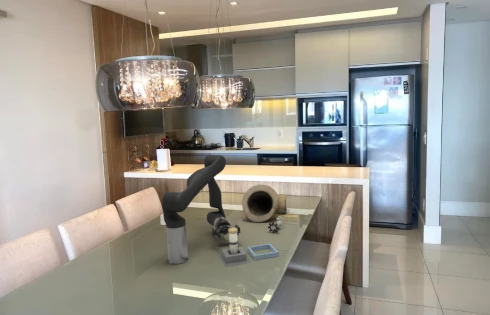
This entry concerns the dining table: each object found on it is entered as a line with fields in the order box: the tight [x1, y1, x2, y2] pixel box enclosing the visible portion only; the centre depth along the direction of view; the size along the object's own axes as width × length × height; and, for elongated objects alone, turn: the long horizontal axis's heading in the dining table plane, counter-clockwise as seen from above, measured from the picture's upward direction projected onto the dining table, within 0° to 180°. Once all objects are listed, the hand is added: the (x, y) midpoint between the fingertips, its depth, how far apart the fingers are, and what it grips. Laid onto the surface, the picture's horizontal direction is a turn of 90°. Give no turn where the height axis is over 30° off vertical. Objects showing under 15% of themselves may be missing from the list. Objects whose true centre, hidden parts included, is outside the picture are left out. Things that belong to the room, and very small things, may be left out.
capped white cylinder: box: [227, 228, 239, 255], centre depth 172 cm, size 4×4×14 cm
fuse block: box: [218, 246, 252, 268], centre depth 173 cm, size 12×16×4 cm
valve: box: [267, 216, 284, 234], centre depth 213 cm, size 7×7×12 cm
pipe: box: [241, 184, 288, 223], centre depth 243 cm, size 23×29×30 cm
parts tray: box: [246, 243, 280, 261], centre depth 177 cm, size 12×12×4 cm
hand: (228, 235), depth 181 cm, fingers open, 8 cm apart
